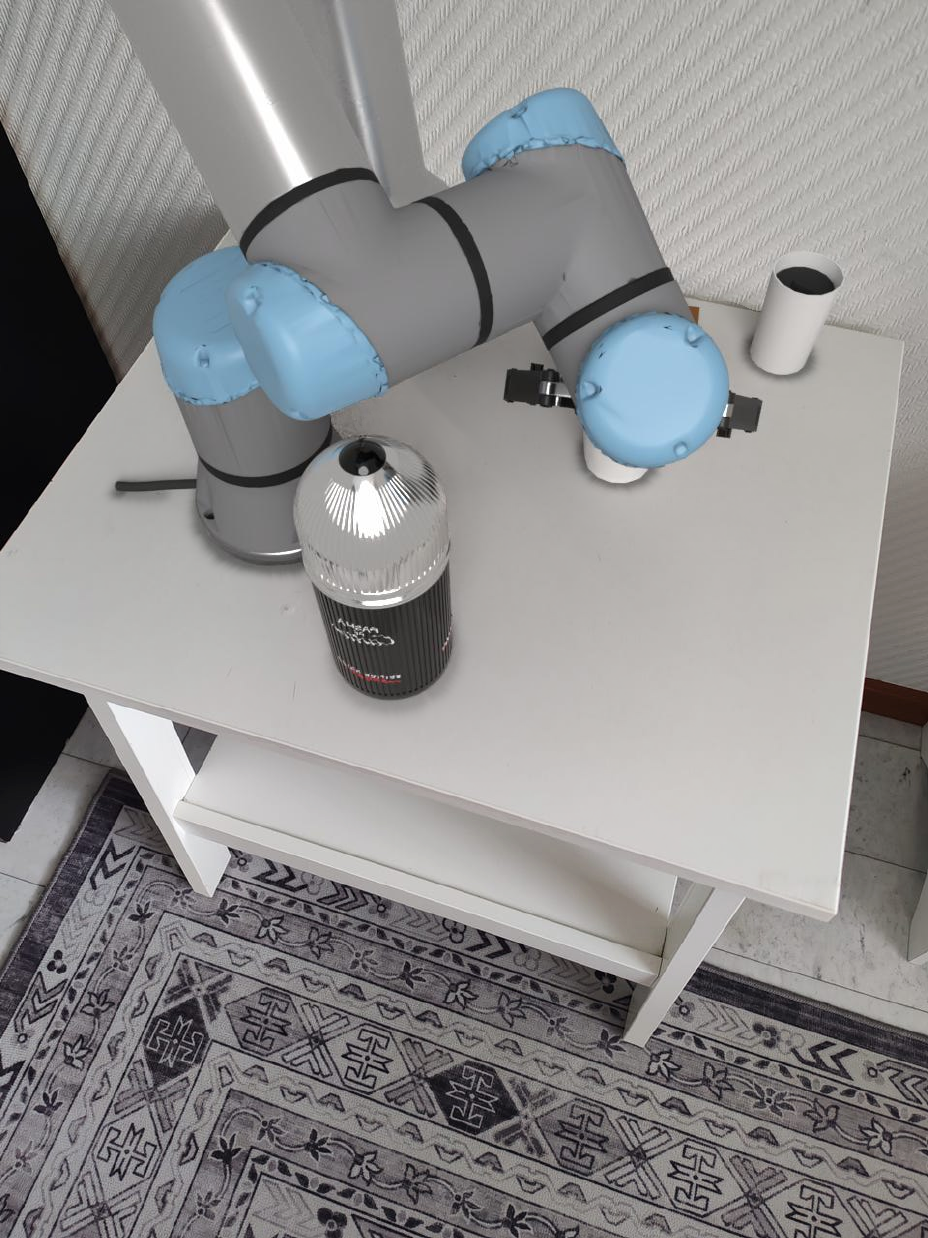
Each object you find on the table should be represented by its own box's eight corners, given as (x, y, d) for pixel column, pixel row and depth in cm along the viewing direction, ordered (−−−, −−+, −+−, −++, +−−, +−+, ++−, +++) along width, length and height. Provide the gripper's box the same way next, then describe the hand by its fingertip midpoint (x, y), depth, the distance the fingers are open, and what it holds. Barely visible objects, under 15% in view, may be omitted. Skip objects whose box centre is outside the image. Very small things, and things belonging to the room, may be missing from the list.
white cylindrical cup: (809, 382, 90) (844, 301, 81) (743, 372, 91) (771, 290, 82) (811, 338, 93) (845, 255, 85) (747, 328, 94) (774, 246, 86)
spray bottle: (440, 718, 71) (425, 530, 49) (317, 696, 72) (251, 502, 51) (466, 611, 76) (462, 399, 55) (351, 592, 77) (303, 376, 56)
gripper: (444, 431, 60) (482, 426, 80) (822, 481, 57) (761, 462, 78) (458, 315, 58) (493, 340, 79) (848, 361, 55) (779, 374, 76)
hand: (626, 401), depth 78 cm, fingers open, 13 cm apart
